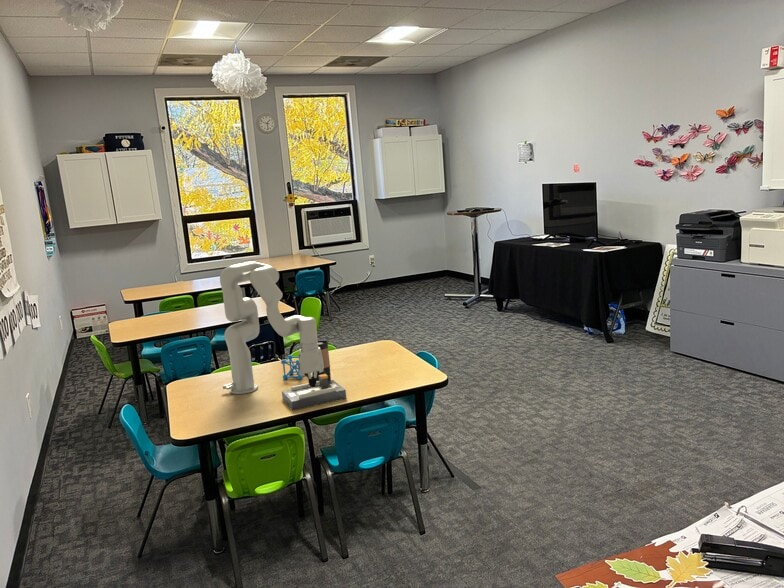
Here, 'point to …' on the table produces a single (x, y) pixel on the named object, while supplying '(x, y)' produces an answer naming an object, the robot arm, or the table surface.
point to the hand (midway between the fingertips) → (312, 386)
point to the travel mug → (324, 359)
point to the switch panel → (312, 395)
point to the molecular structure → (291, 367)
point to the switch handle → (323, 381)
